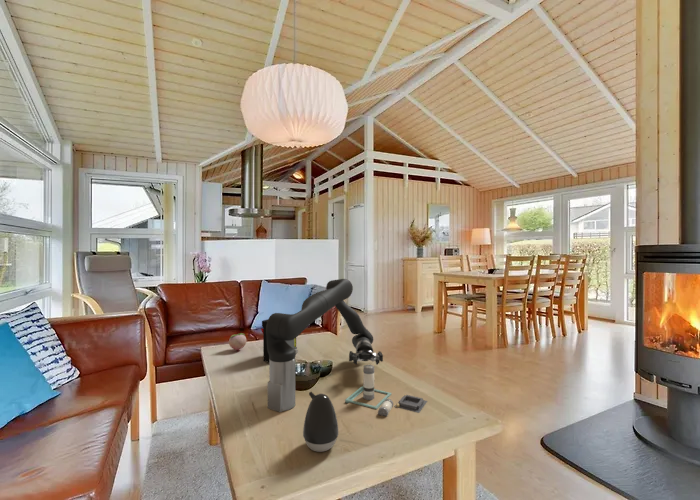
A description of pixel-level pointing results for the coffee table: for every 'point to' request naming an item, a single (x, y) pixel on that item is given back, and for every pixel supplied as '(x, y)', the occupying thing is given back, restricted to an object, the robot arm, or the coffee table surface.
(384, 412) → the cylinder
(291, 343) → the electrical component
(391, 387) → the coffee table surface
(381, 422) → the coffee table surface
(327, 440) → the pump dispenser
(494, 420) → the coffee table surface
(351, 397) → the teal square frame
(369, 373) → the fuse
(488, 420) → the coffee table surface
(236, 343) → the decorative fruit
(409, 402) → the holder block
